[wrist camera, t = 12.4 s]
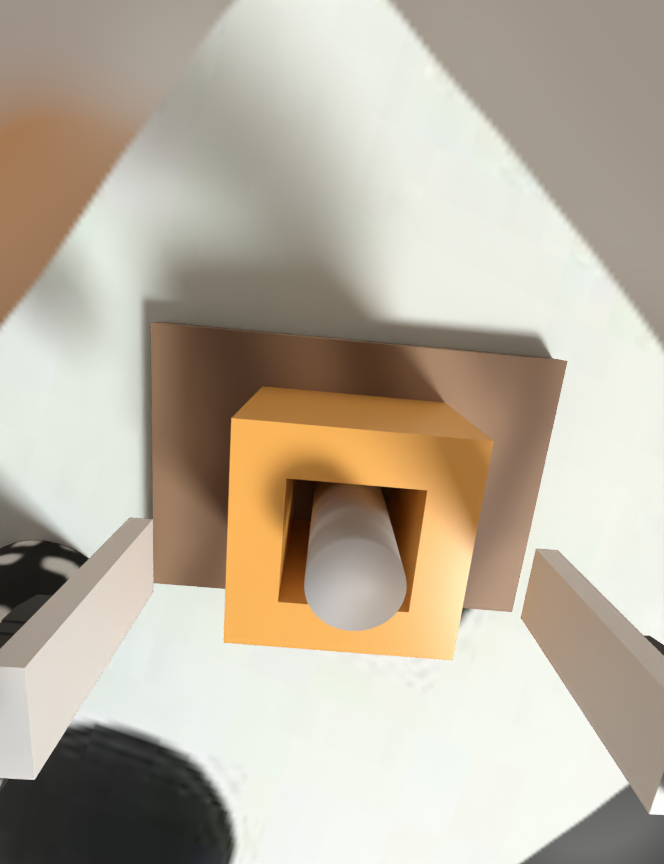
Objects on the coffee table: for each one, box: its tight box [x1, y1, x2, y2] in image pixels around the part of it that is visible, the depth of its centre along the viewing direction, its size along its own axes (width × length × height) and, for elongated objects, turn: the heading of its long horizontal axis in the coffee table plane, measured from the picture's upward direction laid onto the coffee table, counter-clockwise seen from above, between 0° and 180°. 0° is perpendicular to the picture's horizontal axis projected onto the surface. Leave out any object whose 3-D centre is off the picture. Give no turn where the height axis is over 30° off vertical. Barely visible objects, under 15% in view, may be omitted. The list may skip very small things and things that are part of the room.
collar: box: [224, 386, 494, 660], centre depth 20 cm, size 9×9×7 cm
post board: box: [151, 322, 567, 631], centre depth 19 cm, size 20×14×11 cm
